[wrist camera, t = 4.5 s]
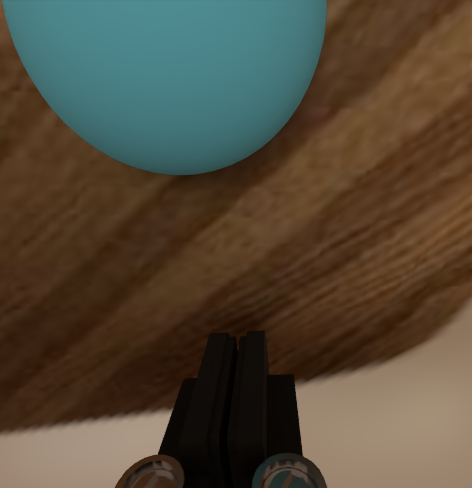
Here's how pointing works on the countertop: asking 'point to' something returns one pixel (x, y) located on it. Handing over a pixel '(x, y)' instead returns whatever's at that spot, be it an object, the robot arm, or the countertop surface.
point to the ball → (171, 73)
